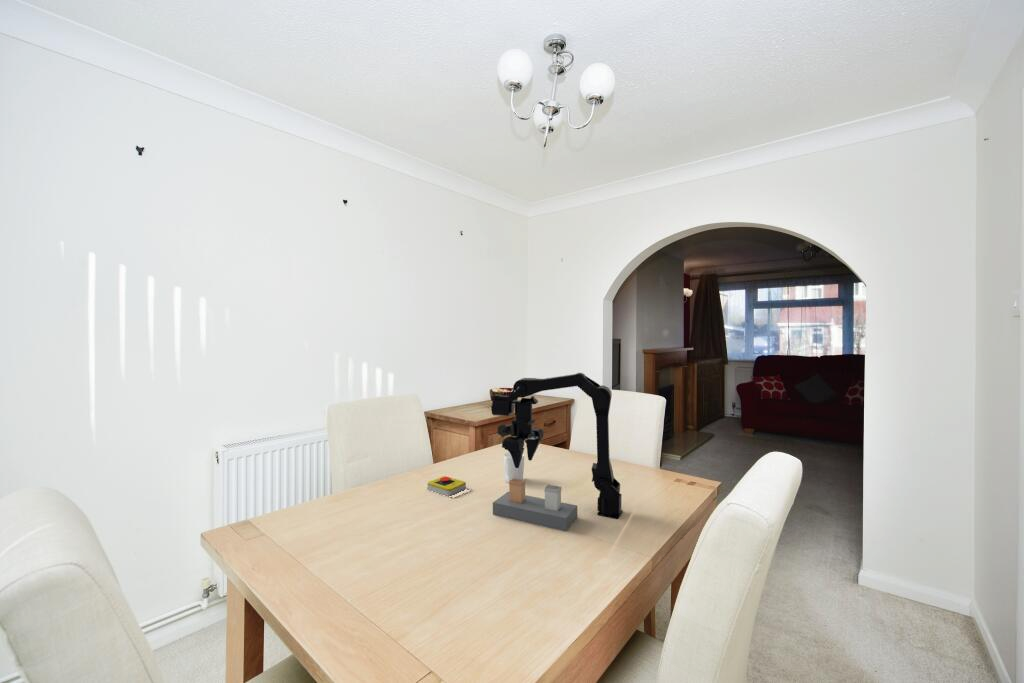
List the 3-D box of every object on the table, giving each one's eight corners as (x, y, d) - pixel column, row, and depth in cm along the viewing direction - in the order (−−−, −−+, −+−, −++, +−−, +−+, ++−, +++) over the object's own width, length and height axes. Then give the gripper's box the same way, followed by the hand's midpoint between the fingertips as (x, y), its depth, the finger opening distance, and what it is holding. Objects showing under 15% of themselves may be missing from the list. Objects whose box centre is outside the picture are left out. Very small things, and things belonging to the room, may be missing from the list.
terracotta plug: (525, 511, 137) (525, 480, 137) (521, 515, 134) (521, 483, 134) (513, 509, 139) (513, 478, 139) (509, 512, 136) (509, 481, 136)
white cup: (516, 486, 160) (516, 459, 160) (499, 481, 165) (499, 455, 164) (528, 480, 166) (528, 454, 166) (512, 475, 171) (512, 450, 171)
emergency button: (441, 471, 164) (471, 479, 155) (441, 483, 164) (471, 492, 156) (423, 478, 157) (453, 487, 148) (423, 490, 157) (453, 500, 148)
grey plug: (561, 519, 132) (561, 486, 131) (557, 523, 129) (557, 490, 129) (548, 516, 134) (548, 484, 133) (544, 520, 131) (544, 487, 130)
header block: (577, 518, 133) (577, 505, 133) (565, 532, 124) (565, 518, 124) (507, 503, 144) (507, 491, 144) (492, 515, 135) (492, 502, 135)
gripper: (515, 409, 155) (515, 453, 155) (487, 419, 139) (487, 468, 139) (544, 412, 149) (544, 457, 150) (518, 423, 133) (518, 473, 134)
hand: (523, 464), depth 143 cm, fingers open, 9 cm apart
